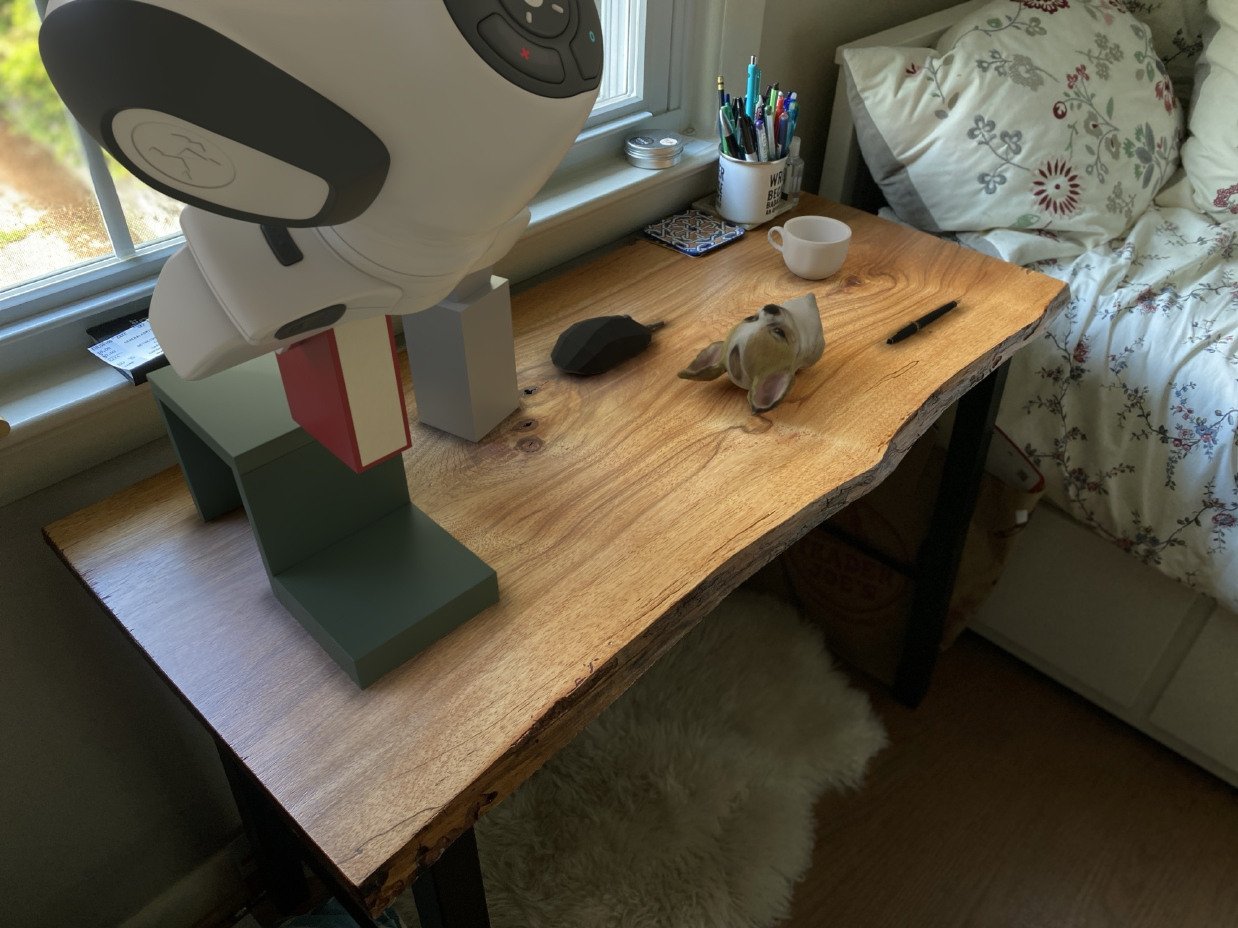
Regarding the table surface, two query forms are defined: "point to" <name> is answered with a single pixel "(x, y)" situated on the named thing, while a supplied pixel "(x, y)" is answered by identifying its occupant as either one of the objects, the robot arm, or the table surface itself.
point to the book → (349, 391)
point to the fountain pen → (919, 323)
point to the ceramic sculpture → (765, 352)
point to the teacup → (813, 245)
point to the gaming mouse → (600, 343)
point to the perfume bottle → (464, 357)
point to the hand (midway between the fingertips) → (322, 323)
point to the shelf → (322, 521)
